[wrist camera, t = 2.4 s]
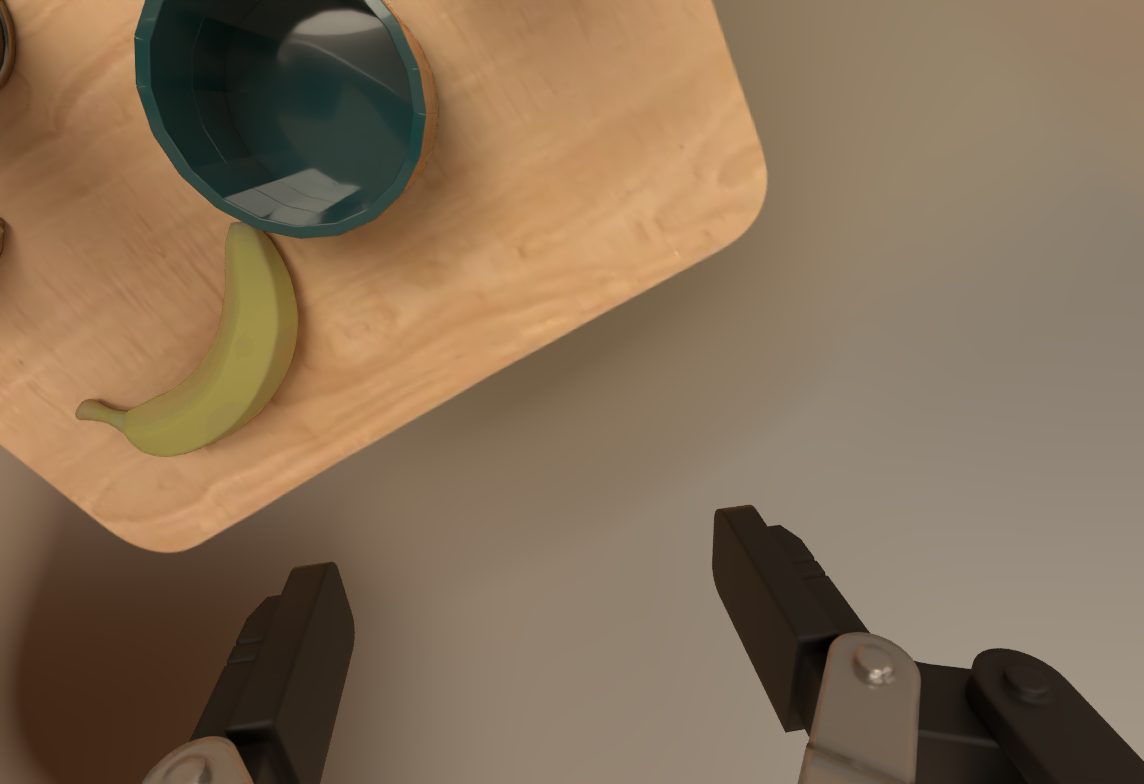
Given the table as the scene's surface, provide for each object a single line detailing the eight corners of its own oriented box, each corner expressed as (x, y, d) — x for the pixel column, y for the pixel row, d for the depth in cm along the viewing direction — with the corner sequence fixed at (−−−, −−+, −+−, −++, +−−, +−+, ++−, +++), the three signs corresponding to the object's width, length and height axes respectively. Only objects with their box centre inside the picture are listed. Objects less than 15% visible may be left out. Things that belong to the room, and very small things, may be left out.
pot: (253, 219, 42) (190, 248, 33) (185, -18, 36) (85, -60, 27) (452, 202, 43) (443, 226, 34) (418, -30, 37) (397, -74, 28)
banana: (321, 405, 41) (87, 492, 44) (355, 386, 46) (145, 465, 49) (228, 212, 38) (-14, 319, 41) (276, 216, 44) (58, 311, 47)
